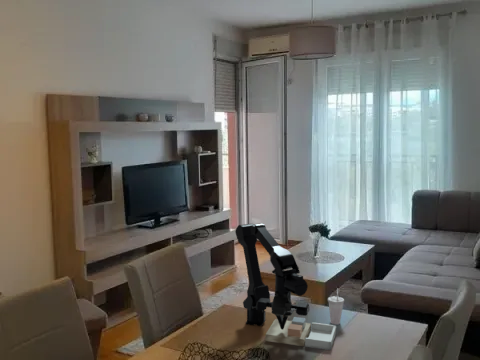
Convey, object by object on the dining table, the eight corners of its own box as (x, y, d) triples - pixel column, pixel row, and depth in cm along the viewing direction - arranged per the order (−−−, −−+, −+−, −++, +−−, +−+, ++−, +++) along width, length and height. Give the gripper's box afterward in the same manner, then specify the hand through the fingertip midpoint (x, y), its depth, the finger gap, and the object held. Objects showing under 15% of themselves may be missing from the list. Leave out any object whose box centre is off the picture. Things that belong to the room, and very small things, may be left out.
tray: (305, 346, 176) (305, 338, 175) (312, 329, 190) (312, 322, 190) (330, 350, 173) (331, 342, 173) (336, 333, 187) (336, 325, 187)
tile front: (287, 335, 179) (287, 328, 179) (290, 330, 183) (290, 323, 183) (299, 336, 178) (300, 330, 177) (302, 331, 182) (302, 325, 182)
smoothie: (343, 326, 193) (344, 291, 192) (326, 325, 195) (327, 290, 193) (343, 320, 200) (344, 286, 198) (327, 318, 201) (328, 285, 199)
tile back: (291, 327, 186) (291, 321, 185) (294, 323, 190) (294, 316, 190) (303, 329, 184) (303, 322, 184) (305, 324, 189) (305, 318, 188)
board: (265, 340, 180) (265, 334, 180) (275, 325, 194) (275, 318, 194) (303, 346, 176) (303, 339, 176) (310, 329, 190) (311, 323, 190)
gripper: (252, 291, 175) (251, 334, 177) (304, 297, 170) (303, 341, 171) (260, 282, 186) (260, 322, 188) (310, 287, 180) (309, 329, 182)
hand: (282, 329), depth 182 cm, fingers closed
